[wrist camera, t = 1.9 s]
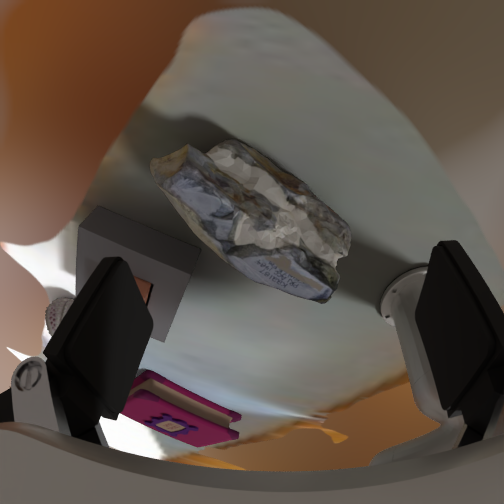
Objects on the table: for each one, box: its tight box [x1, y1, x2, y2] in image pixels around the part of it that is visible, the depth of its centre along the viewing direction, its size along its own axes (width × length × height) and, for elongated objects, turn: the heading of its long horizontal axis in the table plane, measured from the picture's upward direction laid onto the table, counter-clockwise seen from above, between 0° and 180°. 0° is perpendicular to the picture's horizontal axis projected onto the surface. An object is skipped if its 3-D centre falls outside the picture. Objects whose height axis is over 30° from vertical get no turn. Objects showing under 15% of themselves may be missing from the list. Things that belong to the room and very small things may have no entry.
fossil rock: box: [150, 139, 352, 304], centre depth 31 cm, size 21×10×15 cm, turn 51°
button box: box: [76, 206, 201, 342], centre depth 43 cm, size 16×16×6 cm
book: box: [121, 370, 242, 447], centre depth 69 cm, size 21×28×8 cm
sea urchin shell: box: [45, 298, 74, 336], centre depth 51 cm, size 13×14×8 cm
